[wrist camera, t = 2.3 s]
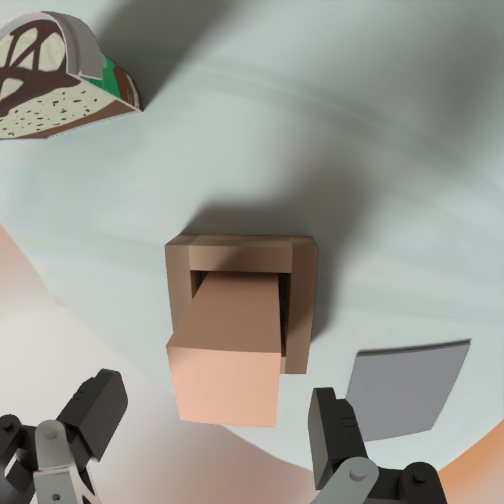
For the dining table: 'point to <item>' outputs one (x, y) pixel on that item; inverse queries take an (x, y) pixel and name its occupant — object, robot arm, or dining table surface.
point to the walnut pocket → (250, 260)
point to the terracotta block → (229, 351)
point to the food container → (58, 78)
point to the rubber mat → (402, 389)
